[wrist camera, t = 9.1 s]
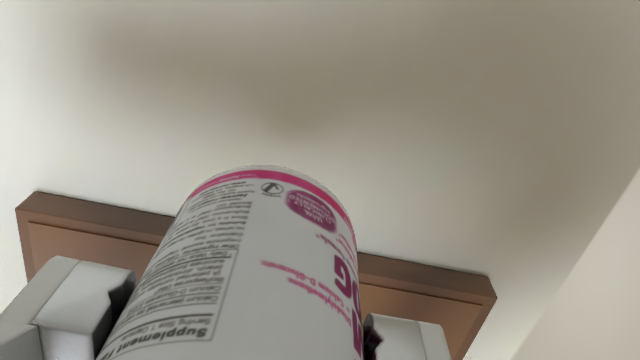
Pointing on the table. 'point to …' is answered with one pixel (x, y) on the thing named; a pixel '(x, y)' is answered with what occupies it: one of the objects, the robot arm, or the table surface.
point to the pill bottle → (248, 276)
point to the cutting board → (149, 229)
